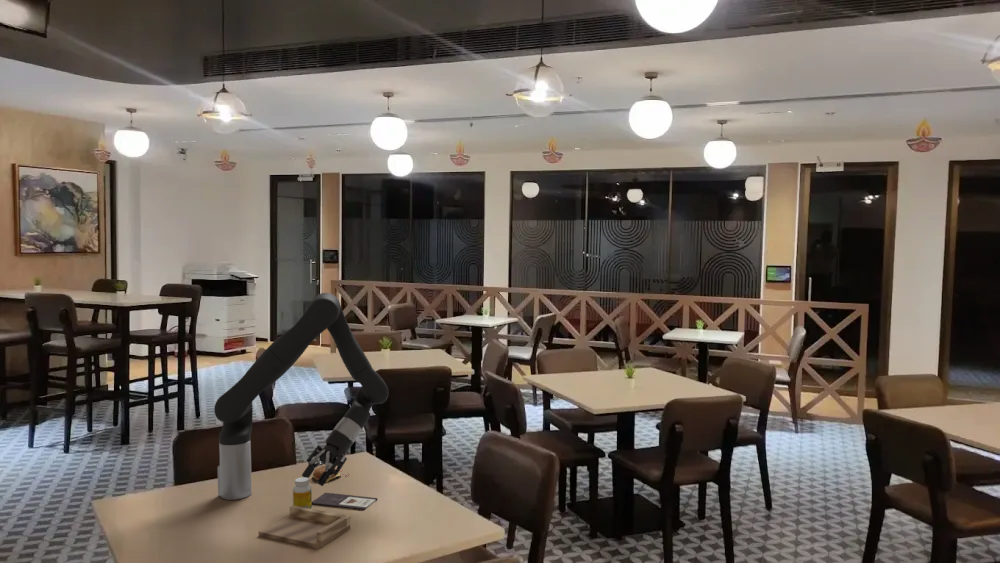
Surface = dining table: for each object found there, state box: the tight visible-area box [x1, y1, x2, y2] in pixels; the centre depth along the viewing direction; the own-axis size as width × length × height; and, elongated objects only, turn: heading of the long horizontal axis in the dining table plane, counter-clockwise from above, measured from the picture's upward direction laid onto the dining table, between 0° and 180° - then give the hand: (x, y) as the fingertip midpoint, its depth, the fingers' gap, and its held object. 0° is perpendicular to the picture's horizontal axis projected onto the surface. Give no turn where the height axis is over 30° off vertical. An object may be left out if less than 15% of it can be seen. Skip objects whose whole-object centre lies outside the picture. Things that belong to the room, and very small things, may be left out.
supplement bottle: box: [292, 476, 313, 509], centre depth 208 cm, size 5×5×10 cm
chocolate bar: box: [312, 492, 378, 511], centre depth 216 cm, size 9×1×18 cm
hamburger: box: [311, 465, 350, 483], centre depth 239 cm, size 14×14×6 cm
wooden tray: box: [258, 504, 351, 550], centre depth 193 cm, size 20×14×4 cm
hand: (311, 480), depth 210 cm, fingers open, 8 cm apart
